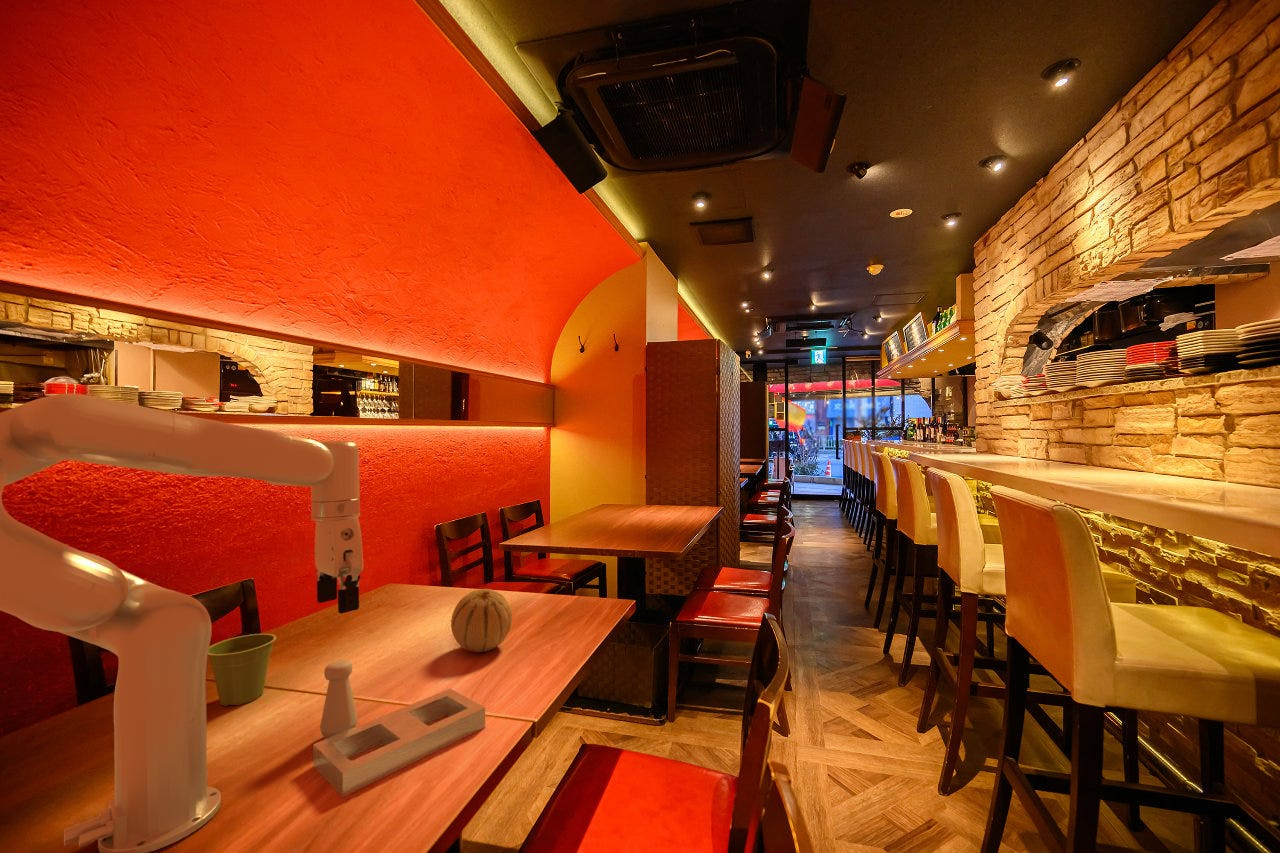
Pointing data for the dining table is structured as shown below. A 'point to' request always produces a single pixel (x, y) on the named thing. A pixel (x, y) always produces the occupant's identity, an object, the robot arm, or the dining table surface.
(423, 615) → the dining table surface
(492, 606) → the cantaloupe
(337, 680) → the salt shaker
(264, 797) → the dining table surface
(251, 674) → the plant pot
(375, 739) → the beige compartment tray
